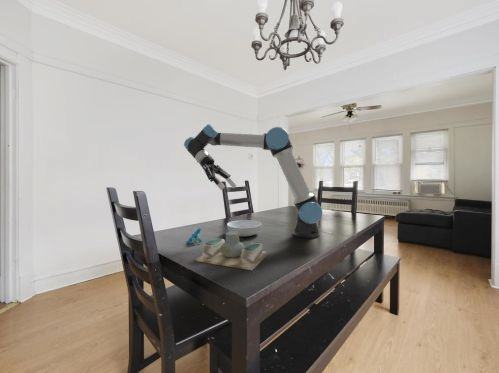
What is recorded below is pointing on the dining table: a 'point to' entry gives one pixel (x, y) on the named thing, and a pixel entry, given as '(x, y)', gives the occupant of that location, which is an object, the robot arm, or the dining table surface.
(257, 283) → the dining table surface
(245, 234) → the serving bowl
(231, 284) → the dining table surface
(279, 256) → the dining table surface
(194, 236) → the gear
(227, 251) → the air freshener
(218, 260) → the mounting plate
